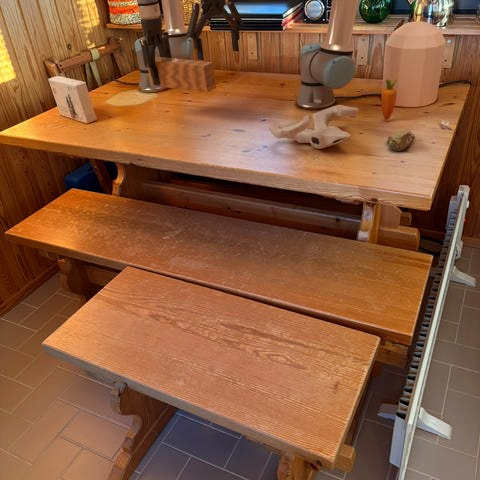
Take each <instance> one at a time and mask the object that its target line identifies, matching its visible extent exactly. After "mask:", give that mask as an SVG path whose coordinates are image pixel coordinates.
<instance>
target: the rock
mask: <svg viewBox="0 0 480 480" xmlns="http://www.w3.org/2000/svg"><path fill="white" fill-rule="evenodd" d="M415 139H416V135H415V134H414V132H412V131H411V130H408V129H407V130H404V131H398V132H396V133H394V134H393V135H392V134H391V135H389V136H388V137H387V143H388V145H387V146H388V147H389V149H391V150H392V151H395V152H404V151H406V150H407V148H409V145H410V144H411V143H412V142H413V141H414V140H415Z"/></svg>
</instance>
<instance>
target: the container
mask: <svg viewBox="0 0 480 480" xmlns="http://www.w3.org/2000/svg"><path fill="white" fill-rule="evenodd" d="M446 44H447V41H446V39H445V36H444V35H443V33H442V30H441V29H440V28H438V27H437V26H435V25H434V24H432V23H430V22H426V21H422V20H417V21H410V22H405V23H404V24H402V25H401V26H400V27H398V28H396V29H395V30H394V31H392V33H391V35H390V36H389V37H388V38H387V40H386V41H385V45H384V46H385V47H384V58H383V68H382V69H383V71H382V81H381V93H380V94H381V96H380V99H381V98H382V91H383V90H384V89H386V88H387V87H386V85H387V83H386V79H390V82H391V84H393V82H394V80H395V79H397V81H396V83H395V84H394V86H393V88H394V89H395V90H396V91H397V95H396V102H395V106H394V107H404V108H413V107H414V108H417V107H424V106H429V105H431V104H433V103H435V102H436V101H437V99H438V94H439V93H438V92H439V88H440V87H439V85H440V81H441V75H442V68H443V63H444V55H445V49H446ZM389 86H390V85H389ZM391 86H392V85H391Z"/></svg>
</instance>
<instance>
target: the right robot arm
mask: <svg viewBox="0 0 480 480" xmlns="http://www.w3.org/2000/svg"><path fill="white" fill-rule="evenodd" d="M359 1H360V0H332V2H331V7H330V12H329V19H328V24H327V31H326V36H325V41H320V42H312V43H308V44H304V45H302V46H301V48H300V88H299V90H298V94H297V97H296V106H297V107H298V108H300V109H303V110H310V111H317V110H318V111H319V110H320V111H321V110H325V109H328V108H330V107H334V106H335V104H336V100H354V99H359V98H364V97H381V93H366V94H365V93H363V94H360V95H359V94H358V95H354V96H335V93H334V90H340V89H342V88H344V87H346V86H347V85H348V84H350V82H351V81H352V80H353V78H354V76H355V73H356V64H355V62H354V60H353V59H352V58H353V53H354V48H353V46H352V45H351V42H352V36H353V31H354V25H355V21H356V16H357V11H358V5H359ZM225 5H227V8H228V10H229V12H230V13H229V12H228V11H227V8H225ZM201 10H202V12H200V11H201ZM200 13H201V14H200ZM199 16H200V17H199ZM215 16H222V18H223V19H224V20H225V21H226V22H227V23H228V24H229V26H230V27H231V28H232V29H231V30H230V35H231V36H230V37H231V46H232V51H233V52H237V53H238V52H240V48H239V47H240V46H239V45H240V44H239V41H240V39H241V37H240V31H241V30H242V28H243V27H244V26H245V22H244V20H243V19H242V17H241V14H240V13H239V11H238V9H237V7H236V5H235V0H200V2H192V4H191V14H190V19H189V21H188V27H187V37H190V38H192V39H193V50H196V55H197V60H198V61H205V58H204V50H203V49H204V48H203V42H202V41H203V40H202V38H201V37H200V36H201V34H202V32H203V29H204V28H205V26H206V24H207V22H208V20H209V19H210V17H215ZM458 83H466V84H468V85H471V86H472V85H473V83H472V82H471V81H470V80H467V79H458V80H453V81H447V82H443V83H439V88H440V87H444V86H447V85H452V84H458Z"/></svg>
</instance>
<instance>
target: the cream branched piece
mask: <svg viewBox="0 0 480 480" xmlns="http://www.w3.org/2000/svg"><path fill="white" fill-rule="evenodd" d="M359 113H360V109H359V108H358V107H354V106H347V105H342V104H337V105H333V106H331V107H329V108H326V109H321V110H320V111H319V110H318V111H316V112H314V113H312V115H311V117H310V115H309V114H307V115H304V116H303V118H302V119H301V121H299V122H296V121H295V120H294V119H290V120H285V121H280V122H276V123H272V124H269V126H268V129H269V131H270V133H271V134H272V135H273V136H274V137H275V138H276V139H288V140H295V141H296V142H298V143H299V144H304V143H305V144H306V143H307V144H310V145H311V146H312V147H313V148H314V149H316V150H323V149H327V148H329V147H332V146H336V145H337V144H341V143H343V142H347V141H349V140H350V139H351V135H350V133H349V132H348V131H344V130H341V129H340V128H339V127H337V126H336V125H329V124H330V121H331V119H333V118H346V117H349V118H353V119H356V118H357V117H358V115H359ZM311 122H312V126H313V129H311V128H309V127H310V126H311Z"/></svg>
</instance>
